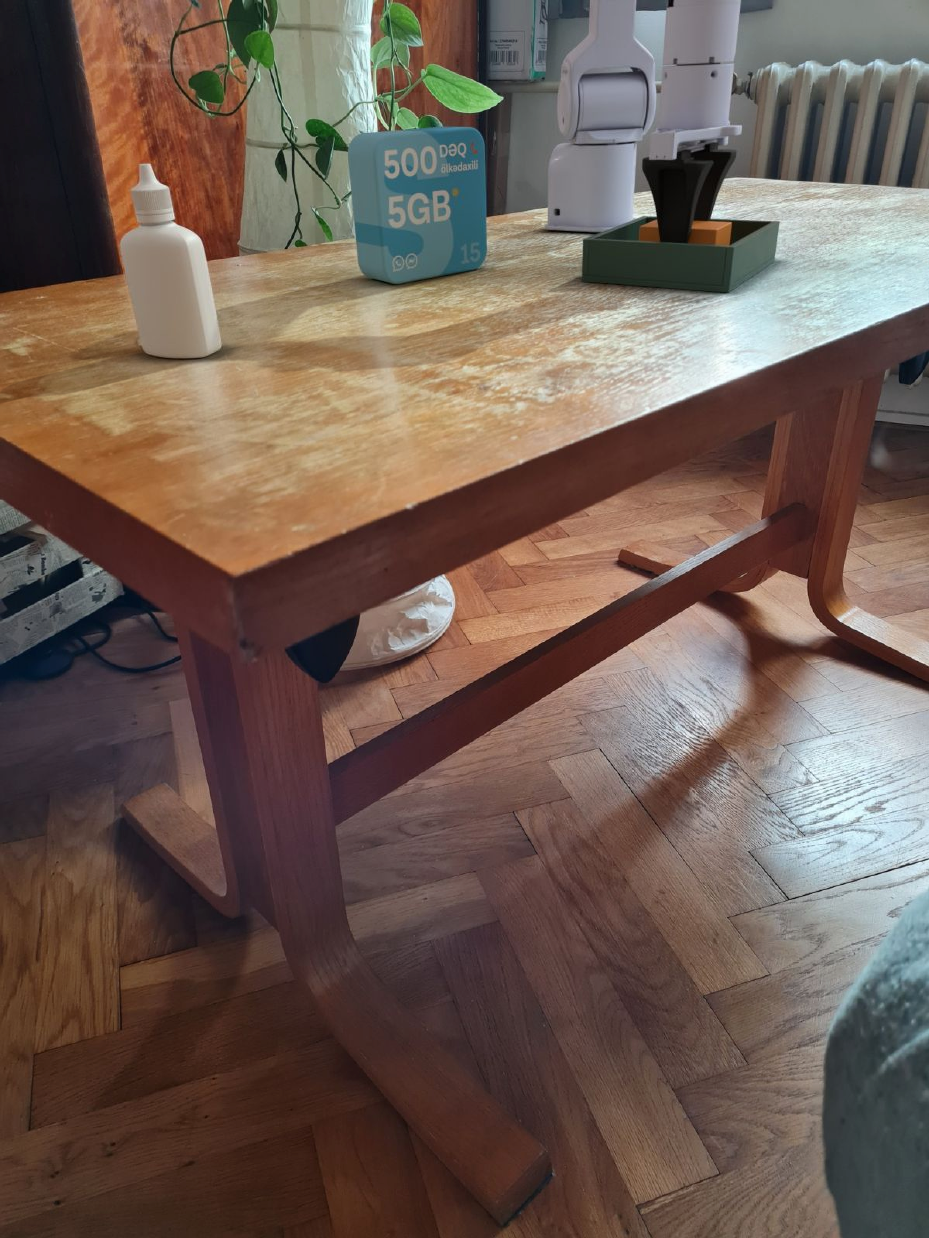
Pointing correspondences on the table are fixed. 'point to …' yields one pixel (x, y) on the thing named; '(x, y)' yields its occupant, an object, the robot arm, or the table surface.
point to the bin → (679, 257)
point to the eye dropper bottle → (168, 277)
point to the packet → (693, 233)
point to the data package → (418, 202)
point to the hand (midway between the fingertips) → (682, 243)
